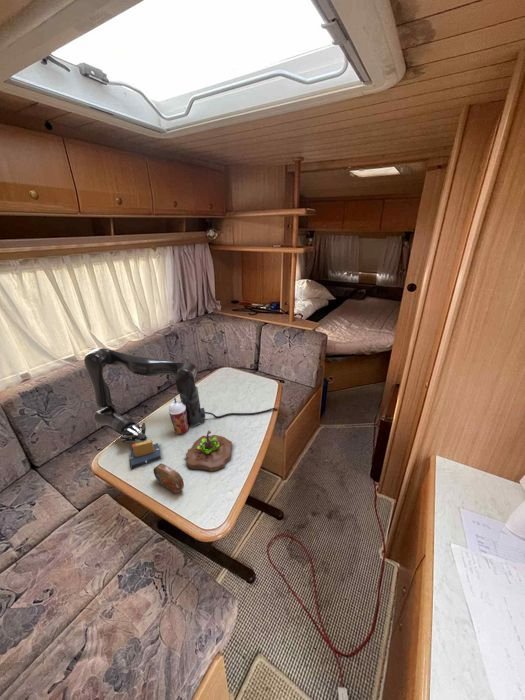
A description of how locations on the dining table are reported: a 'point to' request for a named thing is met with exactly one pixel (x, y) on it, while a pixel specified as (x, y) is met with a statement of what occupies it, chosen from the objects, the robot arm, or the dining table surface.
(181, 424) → the smoothie
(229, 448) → the plant
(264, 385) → the dining table surface
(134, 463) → the tap plate
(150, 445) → the tap lever
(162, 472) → the tin
